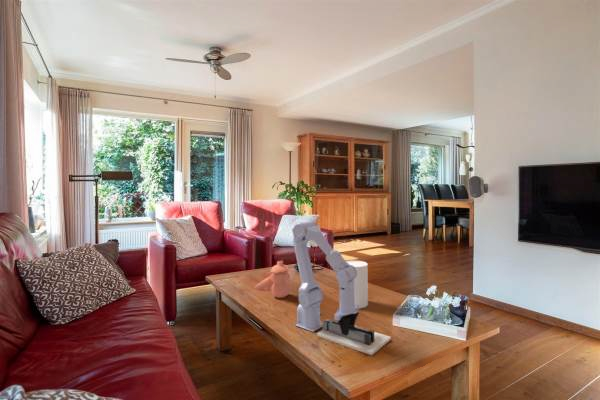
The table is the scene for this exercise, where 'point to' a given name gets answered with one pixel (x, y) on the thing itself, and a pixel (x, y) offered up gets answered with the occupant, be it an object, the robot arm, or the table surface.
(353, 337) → the tongs base
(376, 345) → the cutting board
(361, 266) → the canister
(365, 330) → the tongs arm
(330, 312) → the table surface
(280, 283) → the ceramic vessels
